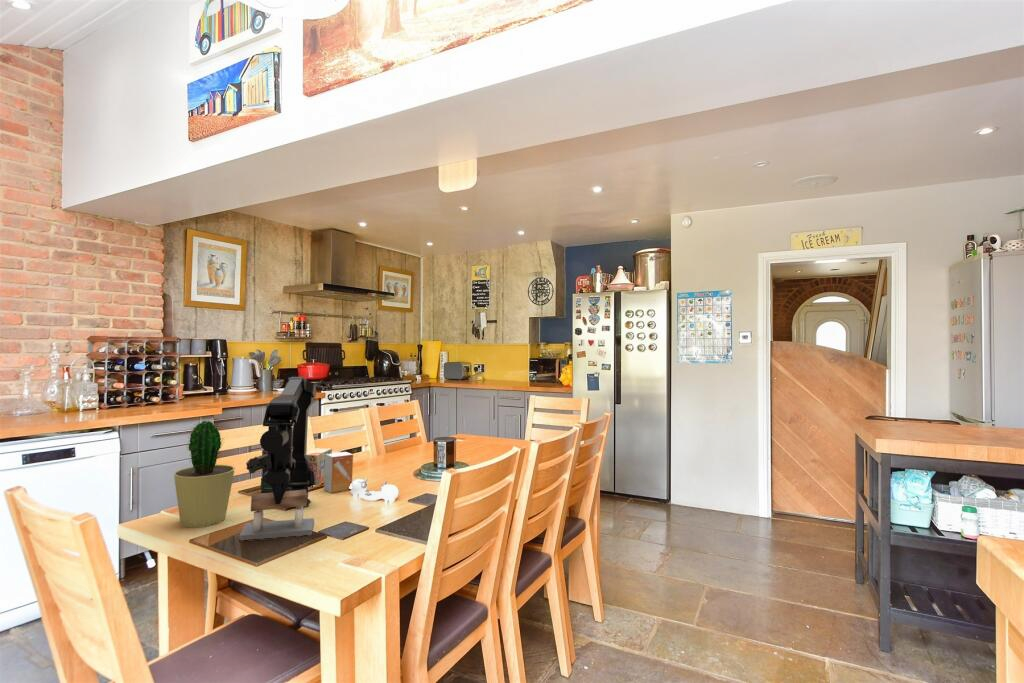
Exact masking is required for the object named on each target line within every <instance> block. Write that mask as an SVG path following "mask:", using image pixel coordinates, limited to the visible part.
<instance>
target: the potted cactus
mask: <svg viewBox="0 0 1024 683" xmlns="http://www.w3.org/2000/svg"><path fill="white" fill-rule="evenodd" d="M218 429H219V427H218V424H216V422H214V421H210V420H202V421H200V422H198V423H196V424H195V426H194V425H192V427H191V432H190V436H189V437H187V439H188V440H189V441H187V447H188V449H187V452H190V459H189V462H191V464H192V465H191V466H190V467H186V468H182V469H178V470H176V471H174V473H173V475H174V486H175V492H176V499H177V506H178V507H177V508H178V514H179V521H180V522H179V523H180V526H182V527H185V528H202V527H201V526H204V527H208V526H207V525H209V526H212V525H211V524H213V525H216V524H215V523H217V524H219V523H221V522H220V521H222V520H223V521H224V520H225V519H226V517H227V512H228V505H229V502H230V500H229V499H230V496H231V490H232V485H233V479H234V476H235V474H234V473H235V469H236V467H235V466H233V465H229V464H217V461H218V460H219V456H218V454H221V453H220V452H221V450H220V449H222V448H223V446H224V443H225V441H224V438H223V437H221V432H220V430H218ZM223 521H222V522H223ZM218 522H219V523H218Z"/></svg>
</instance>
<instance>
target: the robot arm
mask: <svg viewBox="0 0 1024 683" xmlns="http://www.w3.org/2000/svg"><path fill="white" fill-rule="evenodd" d="M286 382H287V383H286V385H285V387H284V388H283V390H282V392H281V394H280V395H278V396H274V397H273V398H271V400H270V401H269V403H267V405H266V409H265V413H264V418H263V421H262V427H268V428H267V429H268V430H266V431H265V432H264V433H262V435H261V436H260V439H259V444H260V447H261V448H262V450H265V451H267V454H264V455H262V454H261V455H259V456H254V457H253V458H250V459H249V460H247V462H246V463H245V464H246V470H248V472H249V474H251V475H252V474H253V473H254V474H255V473H256V472H257V471H260V470H261V471H262V469H263V468H266V467H267V470H268V469H269V470H268V471H267V472H266V473H265V474H264V476H263V483H266V484H268V485H270V486H271V487H272V490H273V494H274V499H275V503H276V504H280V503H281V501H282V498H283V496H284V493H285V491H286V489H287V487H290V491H294V490H304V489H306V492H307V506H306V507H309V506H310V502H311V499H309V488H312V487H311V486H313V485H315V476H314V472H313V469H312V468H311V461H310V460H309V458H308V456H307V455H306V453H307V450H308V445H307V444H308V427H309V426H308V423H309V410H310V409H311V407H312V406H313V404H314V402H315V398H316V395H317V388H316V385H315V383H314V382H312V381H309V380H307V378H306V377H304V376H291V377H288V379H287V381H286ZM308 480H309V481H308Z"/></svg>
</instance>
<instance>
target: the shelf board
mask: <svg viewBox="0 0 1024 683" xmlns="http://www.w3.org/2000/svg"><path fill="white" fill-rule="evenodd" d="M299 506H303V507H308V506H307V492H306V489H304V490H294V491H285V493H284V496H283V498H282V501H281V503H280V504H276V503H275V499H274V494H273V492H272V493H262V494H261V493H253V494H251V499H250V512H251V513H252V512H255V511H261V510H263V511H271V510H278V509H289V508H296V507H299Z"/></svg>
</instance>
